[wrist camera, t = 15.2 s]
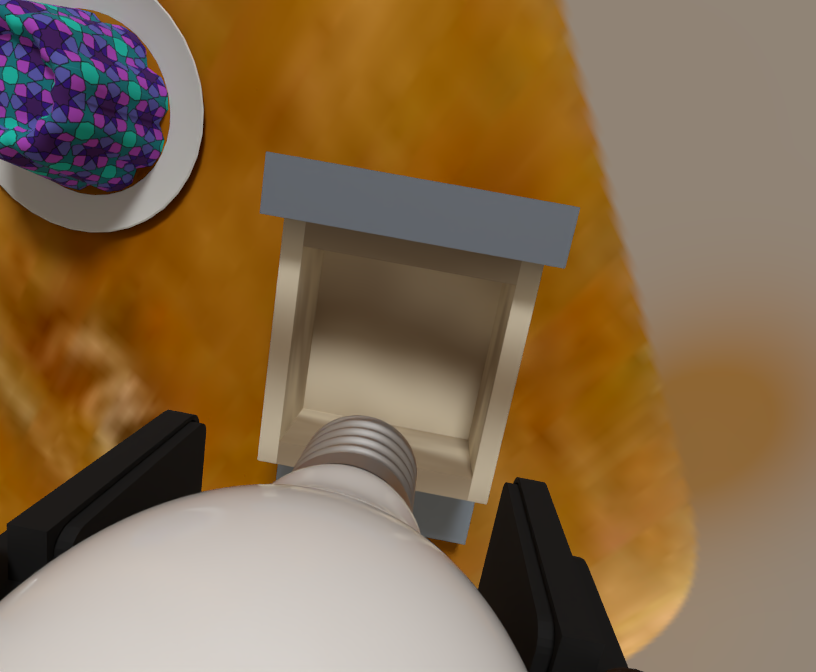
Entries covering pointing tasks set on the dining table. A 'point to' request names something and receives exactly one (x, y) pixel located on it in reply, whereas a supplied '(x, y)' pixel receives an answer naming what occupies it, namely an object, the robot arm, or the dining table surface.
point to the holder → (397, 348)
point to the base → (427, 223)
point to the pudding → (94, 110)
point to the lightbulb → (265, 580)
